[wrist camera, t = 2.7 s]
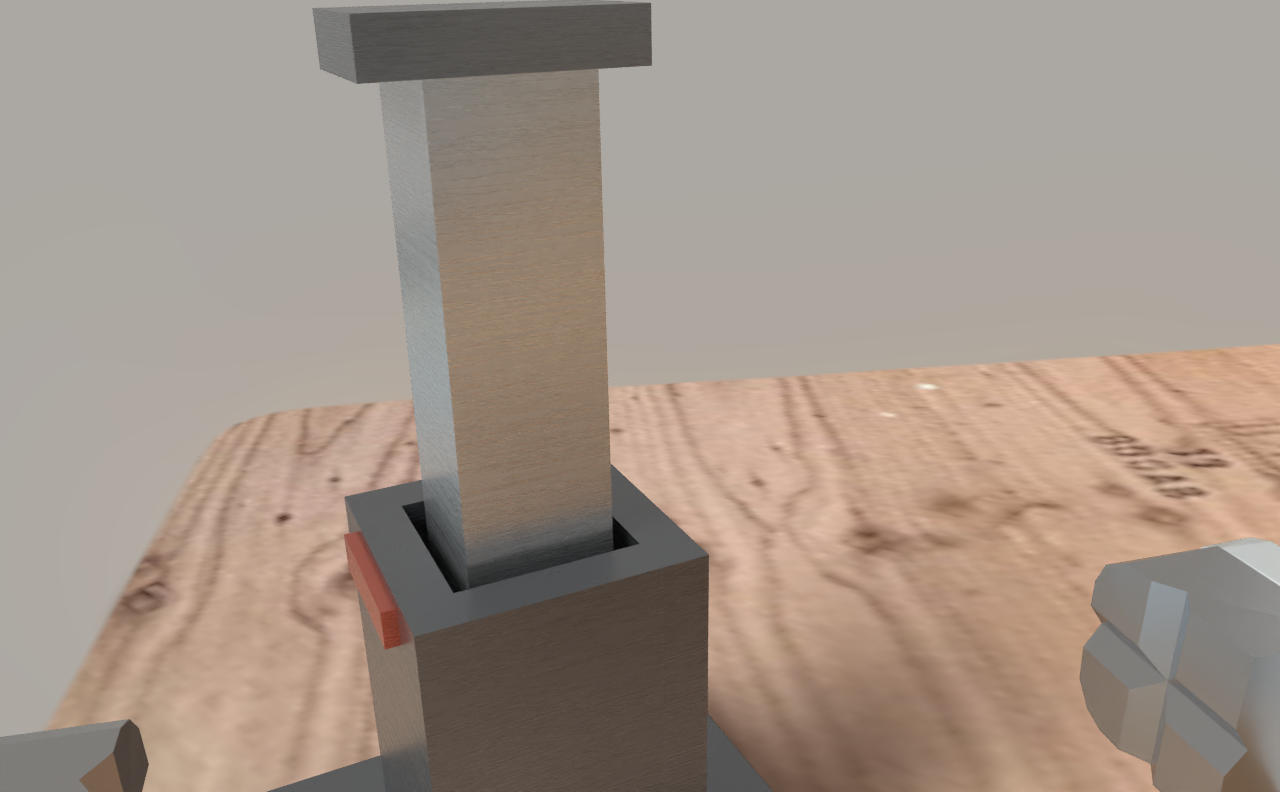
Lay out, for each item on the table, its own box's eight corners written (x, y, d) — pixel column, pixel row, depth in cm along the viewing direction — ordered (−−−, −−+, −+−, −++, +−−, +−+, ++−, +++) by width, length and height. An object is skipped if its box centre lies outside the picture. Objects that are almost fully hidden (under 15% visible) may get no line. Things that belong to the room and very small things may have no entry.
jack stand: (666, 701, 35) (662, 361, 30) (959, 1068, 23) (1025, 605, 19) (218, 851, 29) (131, 462, 25) (307, 1436, 18) (173, 903, 13)
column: (608, 808, 28) (578, -1, 20) (664, 897, 25) (653, 2, 17) (422, 877, 26) (311, 7, 18) (461, 982, 23) (350, 14, 15)
